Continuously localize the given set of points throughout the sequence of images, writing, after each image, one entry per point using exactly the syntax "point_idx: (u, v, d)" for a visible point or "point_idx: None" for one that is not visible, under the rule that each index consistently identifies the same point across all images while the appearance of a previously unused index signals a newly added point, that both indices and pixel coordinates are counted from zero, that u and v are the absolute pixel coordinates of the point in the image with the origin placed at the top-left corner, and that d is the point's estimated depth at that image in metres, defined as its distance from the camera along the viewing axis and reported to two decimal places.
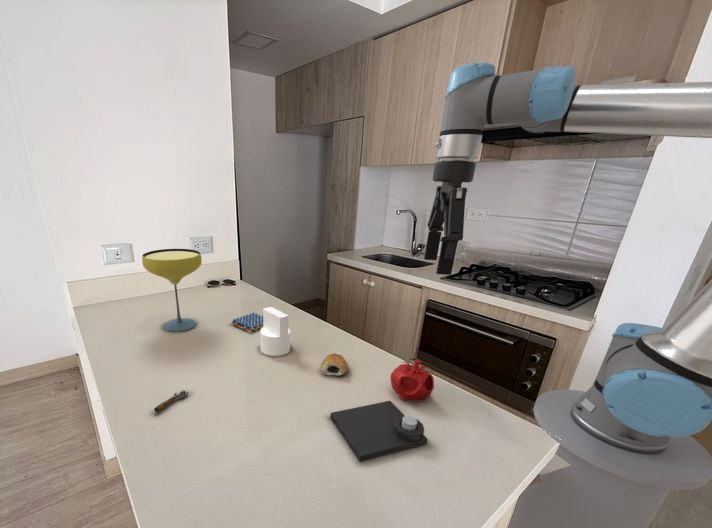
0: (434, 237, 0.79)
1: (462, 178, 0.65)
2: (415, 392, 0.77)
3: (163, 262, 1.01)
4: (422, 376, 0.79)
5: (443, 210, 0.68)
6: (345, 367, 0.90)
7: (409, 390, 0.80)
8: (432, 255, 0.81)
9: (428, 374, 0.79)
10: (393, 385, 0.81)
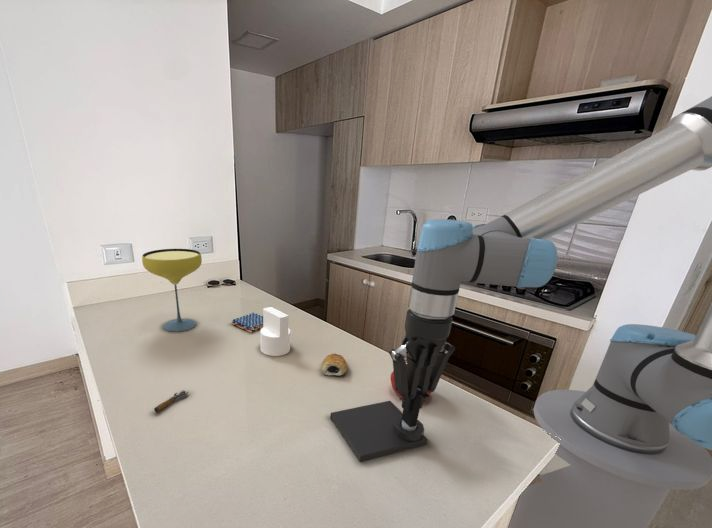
0: None
1: (412, 333, 0.58)
2: None
3: (163, 262, 1.01)
4: None
5: None
6: (345, 367, 0.90)
7: None
8: None
9: None
10: (393, 385, 0.81)
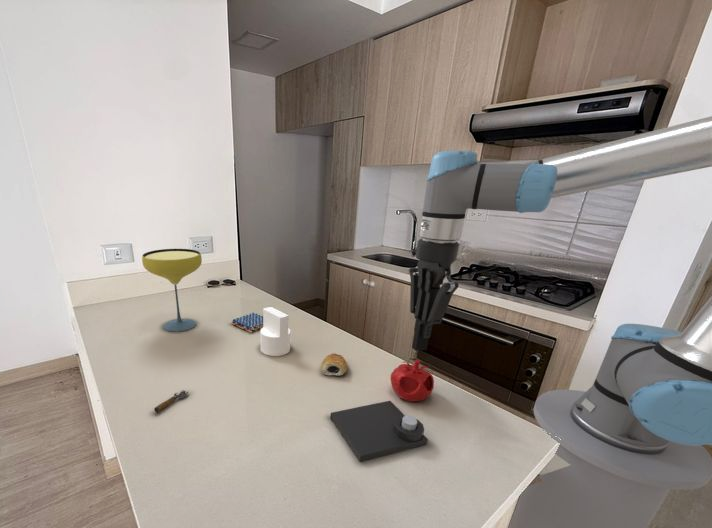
0: None
1: (452, 260, 0.64)
2: (415, 392, 0.77)
3: (163, 262, 1.01)
4: (422, 376, 0.79)
5: (427, 291, 0.68)
6: (345, 367, 0.90)
7: (409, 390, 0.80)
8: None
9: (428, 374, 0.79)
10: (393, 385, 0.81)
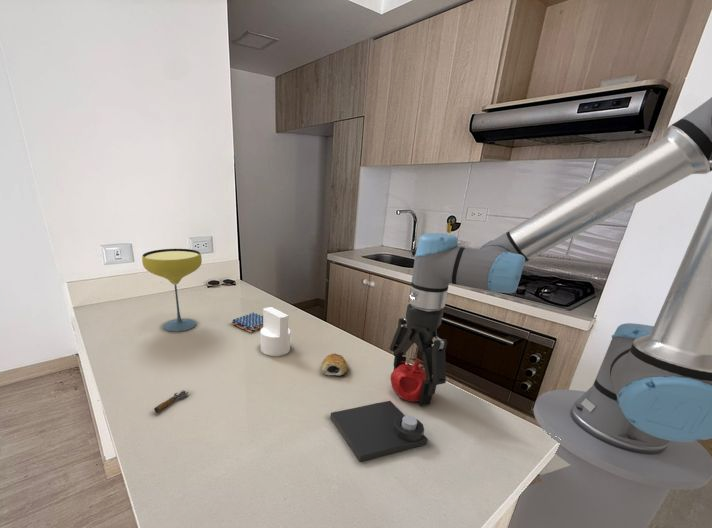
0: (401, 362, 0.85)
1: (437, 325, 0.73)
2: (415, 392, 0.77)
3: (163, 262, 1.01)
4: (422, 376, 0.79)
5: (422, 351, 0.75)
6: (345, 367, 0.90)
7: (409, 390, 0.80)
8: None
9: None
10: (393, 385, 0.81)
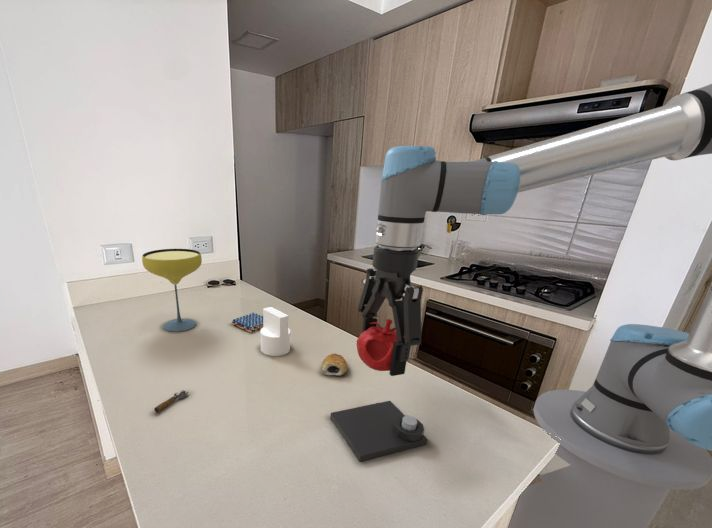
0: (370, 325, 0.69)
1: (411, 269, 0.57)
2: (384, 358, 0.61)
3: (163, 262, 1.01)
4: (394, 339, 0.62)
5: (392, 305, 0.59)
6: (345, 367, 0.90)
7: (378, 357, 0.64)
8: None
9: None
10: (359, 352, 0.65)
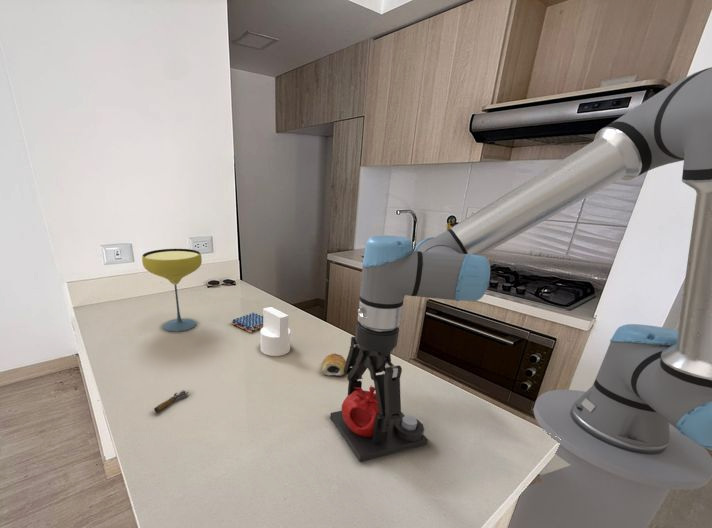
0: (355, 388, 0.72)
1: (391, 348, 0.60)
2: (367, 427, 0.64)
3: (163, 262, 1.01)
4: (376, 407, 0.65)
5: (374, 379, 0.62)
6: None
7: (362, 423, 0.67)
8: None
9: None
10: (343, 417, 0.68)
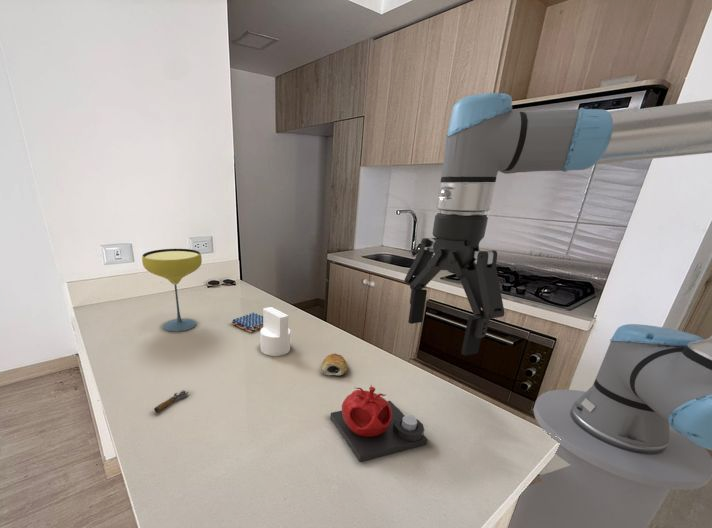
0: (420, 297, 0.64)
1: (480, 236, 0.51)
2: (367, 427, 0.64)
3: (163, 262, 1.01)
4: (377, 407, 0.65)
5: (461, 276, 0.53)
6: (345, 367, 0.90)
7: (362, 423, 0.67)
8: (418, 317, 0.66)
9: (384, 404, 0.66)
10: (343, 417, 0.68)
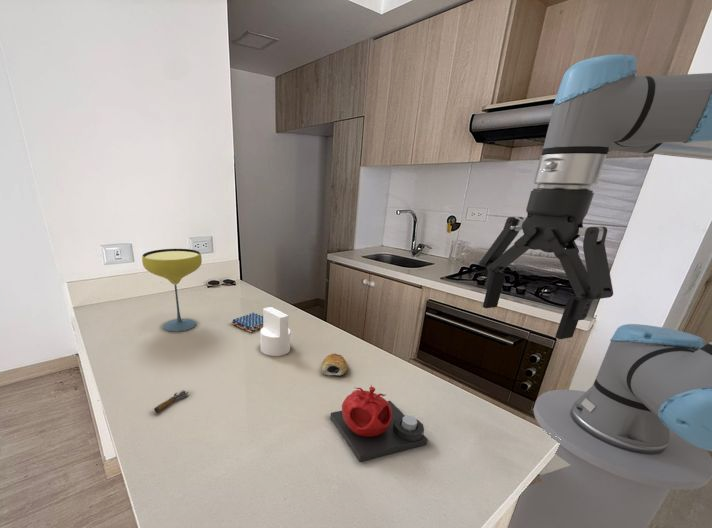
0: (498, 280, 0.62)
1: (585, 212, 0.48)
2: (367, 427, 0.64)
3: (163, 262, 1.01)
4: (377, 407, 0.65)
5: (561, 255, 0.50)
6: (345, 367, 0.90)
7: (362, 423, 0.67)
8: (493, 302, 0.63)
9: (384, 404, 0.66)
10: (343, 417, 0.68)
